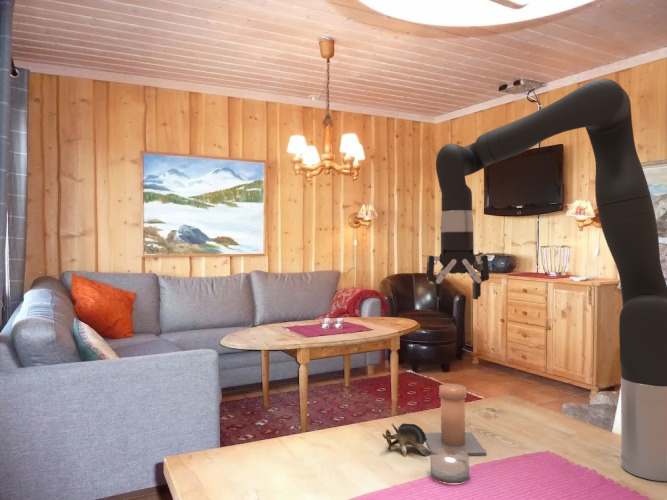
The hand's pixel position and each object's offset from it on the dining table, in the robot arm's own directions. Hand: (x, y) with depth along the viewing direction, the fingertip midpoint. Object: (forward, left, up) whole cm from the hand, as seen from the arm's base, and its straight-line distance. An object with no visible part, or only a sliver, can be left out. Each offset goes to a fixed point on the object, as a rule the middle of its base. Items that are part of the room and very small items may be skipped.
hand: (457, 299), depth 118 cm
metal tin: (+8, +25, -30) cm, 40 cm away
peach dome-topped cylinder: (+4, +11, -30) cm, 32 cm away
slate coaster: (+4, +11, -30) cm, 32 cm away
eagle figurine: (+14, +14, -30) cm, 37 cm away
